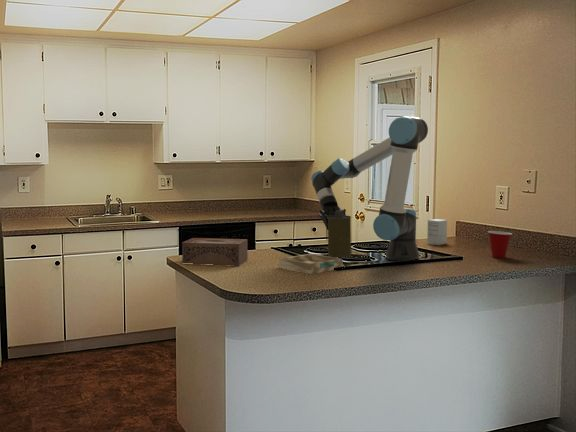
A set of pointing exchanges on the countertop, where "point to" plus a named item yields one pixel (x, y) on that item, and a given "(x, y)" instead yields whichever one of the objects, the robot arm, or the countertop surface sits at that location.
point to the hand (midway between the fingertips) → (342, 240)
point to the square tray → (310, 263)
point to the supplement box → (437, 232)
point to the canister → (339, 234)
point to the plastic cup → (499, 243)
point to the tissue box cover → (215, 251)
